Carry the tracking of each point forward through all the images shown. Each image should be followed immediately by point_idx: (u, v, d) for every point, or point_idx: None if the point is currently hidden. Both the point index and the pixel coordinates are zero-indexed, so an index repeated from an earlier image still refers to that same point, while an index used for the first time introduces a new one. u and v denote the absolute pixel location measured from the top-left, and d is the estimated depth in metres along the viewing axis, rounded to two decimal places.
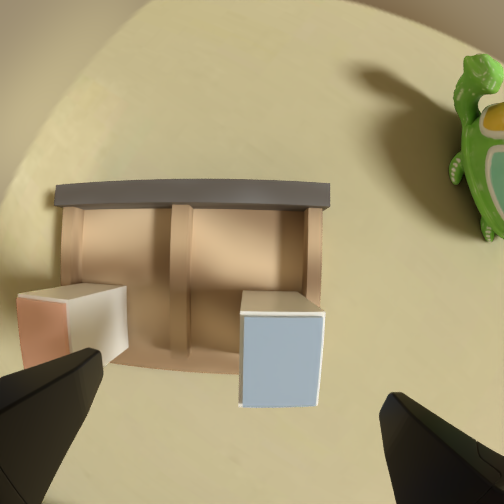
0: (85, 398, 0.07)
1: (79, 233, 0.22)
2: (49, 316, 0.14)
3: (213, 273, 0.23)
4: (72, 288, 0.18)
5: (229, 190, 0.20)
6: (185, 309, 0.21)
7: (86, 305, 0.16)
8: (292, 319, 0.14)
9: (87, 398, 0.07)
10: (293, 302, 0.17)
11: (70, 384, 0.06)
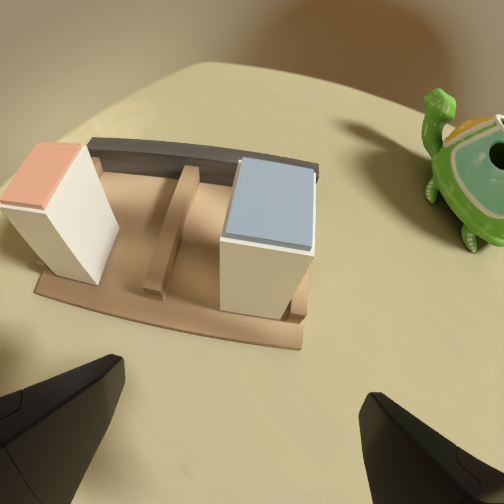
0: (109, 406, 0.07)
1: None
2: (62, 151, 0.15)
3: (206, 230, 0.24)
4: None
5: (235, 156, 0.24)
6: (173, 241, 0.21)
7: (91, 176, 0.17)
8: (286, 165, 0.15)
9: (110, 406, 0.07)
10: None
11: (95, 393, 0.06)
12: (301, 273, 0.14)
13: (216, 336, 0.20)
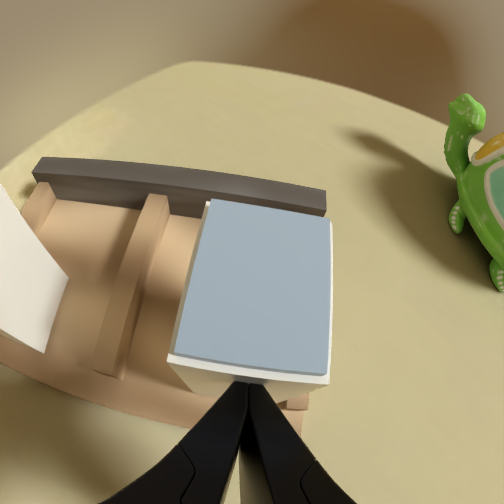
0: (241, 435, 0.07)
1: (42, 215, 0.18)
2: None
3: (176, 283, 0.18)
4: None
5: (214, 181, 0.18)
6: (129, 305, 0.15)
7: (13, 222, 0.11)
8: (284, 211, 0.09)
9: (241, 435, 0.07)
10: None
11: (243, 427, 0.06)
12: (305, 391, 0.08)
13: (189, 428, 0.14)
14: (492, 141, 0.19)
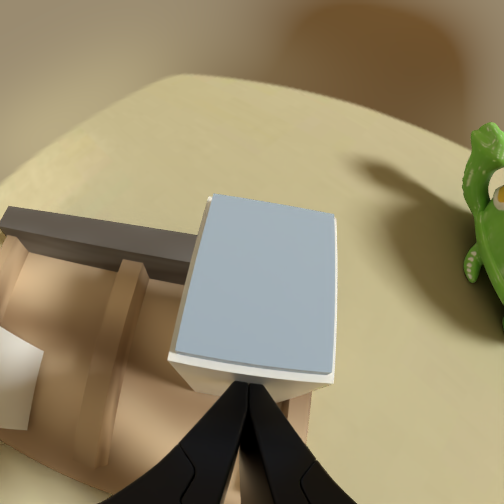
0: (241, 435, 0.07)
1: (13, 273, 0.16)
2: None
3: (158, 365, 0.15)
4: None
5: None
6: (105, 398, 0.12)
7: None
8: (287, 207, 0.09)
9: (241, 434, 0.07)
10: None
11: (243, 427, 0.06)
12: (308, 390, 0.08)
13: None
14: None
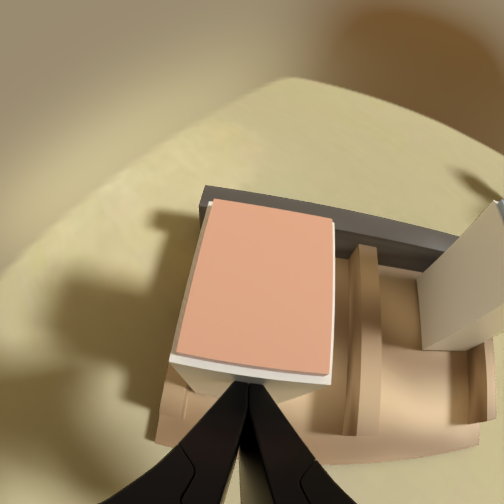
0: (241, 435, 0.07)
1: None
2: (301, 233, 0.09)
3: (391, 334, 0.17)
4: None
5: (419, 236, 0.18)
6: (380, 365, 0.14)
7: None
8: None
9: (241, 434, 0.07)
10: None
11: (243, 427, 0.06)
12: None
13: (415, 457, 0.13)
14: None
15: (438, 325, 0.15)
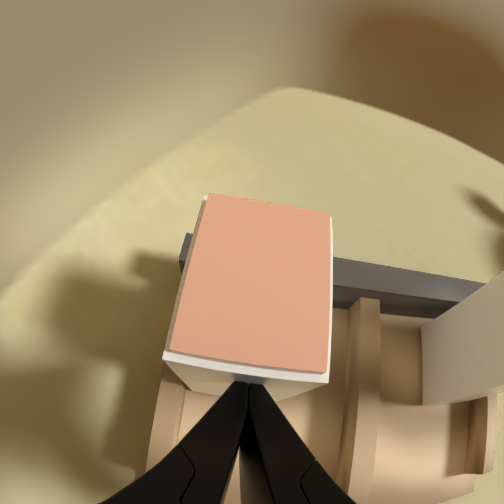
0: (241, 436, 0.07)
1: None
2: (297, 227, 0.09)
3: (390, 391, 0.15)
4: None
5: (428, 285, 0.16)
6: (375, 433, 0.12)
7: None
8: None
9: (241, 434, 0.07)
10: None
11: (243, 427, 0.06)
12: None
13: None
14: None
15: (441, 385, 0.13)
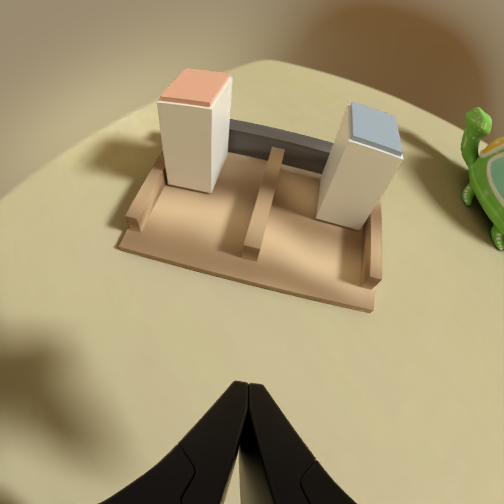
0: (241, 436, 0.07)
1: None
2: (214, 75, 0.20)
3: (291, 205, 0.27)
4: None
5: (318, 144, 0.27)
6: (269, 208, 0.24)
7: (229, 101, 0.23)
8: (378, 110, 0.20)
9: (241, 434, 0.07)
10: None
11: (243, 427, 0.06)
12: (391, 175, 0.20)
13: (303, 295, 0.23)
14: (494, 141, 0.26)
15: (322, 195, 0.25)
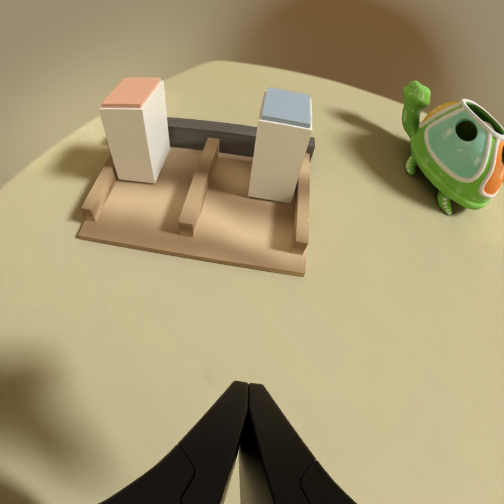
0: (241, 436, 0.07)
1: None
2: (147, 81, 0.23)
3: (226, 187, 0.29)
4: None
5: (249, 130, 0.30)
6: (202, 190, 0.26)
7: (163, 101, 0.25)
8: (293, 92, 0.23)
9: (241, 434, 0.07)
10: None
11: (243, 427, 0.06)
12: (305, 146, 0.23)
13: (236, 263, 0.25)
14: (432, 110, 0.30)
15: None
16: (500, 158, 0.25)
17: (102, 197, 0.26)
